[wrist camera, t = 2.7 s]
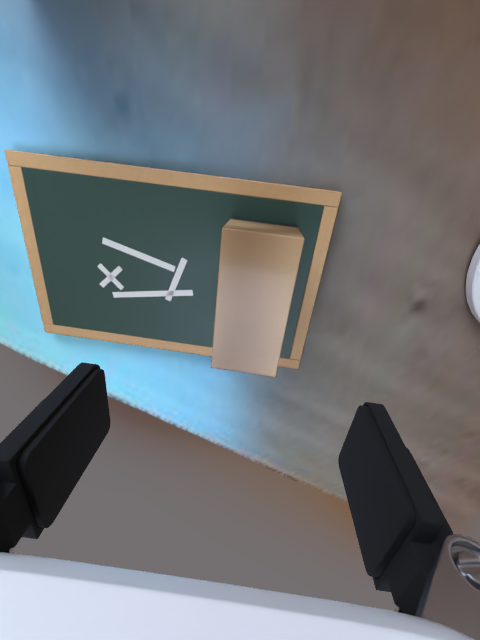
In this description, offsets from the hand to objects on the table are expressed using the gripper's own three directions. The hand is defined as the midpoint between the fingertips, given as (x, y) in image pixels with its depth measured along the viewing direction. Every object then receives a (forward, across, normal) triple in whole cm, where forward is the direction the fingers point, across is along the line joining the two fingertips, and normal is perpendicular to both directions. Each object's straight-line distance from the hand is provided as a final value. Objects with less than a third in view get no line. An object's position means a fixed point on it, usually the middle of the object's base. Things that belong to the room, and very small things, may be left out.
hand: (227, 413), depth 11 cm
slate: (+15, +6, 0) cm, 17 cm away
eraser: (+14, -1, 0) cm, 14 cm away
